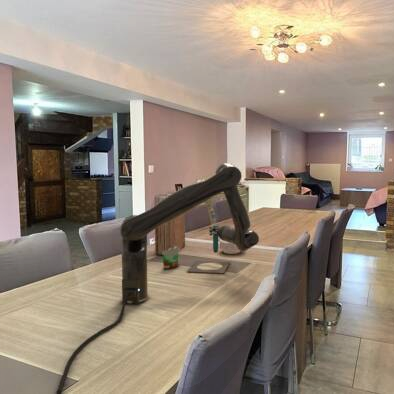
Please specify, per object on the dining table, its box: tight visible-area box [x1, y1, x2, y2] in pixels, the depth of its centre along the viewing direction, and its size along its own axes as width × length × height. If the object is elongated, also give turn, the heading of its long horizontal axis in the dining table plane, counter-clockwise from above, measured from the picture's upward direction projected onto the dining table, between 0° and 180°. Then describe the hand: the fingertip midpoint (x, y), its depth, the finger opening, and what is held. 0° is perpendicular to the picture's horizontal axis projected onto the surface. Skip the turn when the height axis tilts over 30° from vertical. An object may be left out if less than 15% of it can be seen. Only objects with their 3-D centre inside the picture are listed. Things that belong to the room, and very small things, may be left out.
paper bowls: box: [219, 238, 241, 255], centre depth 206 cm, size 15×15×8 cm
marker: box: [212, 224, 219, 254], centre depth 175 cm, size 3×3×14 cm
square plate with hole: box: [187, 260, 231, 275], centre depth 175 cm, size 18×18×1 cm
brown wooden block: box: [154, 203, 186, 256], centre depth 207 cm, size 25×9×30 cm, turn 174°
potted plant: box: [161, 245, 181, 270], centre depth 175 cm, size 12×6×10 cm, turn 168°
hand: (213, 228), depth 177 cm, fingers closed on marker, 2 cm apart
